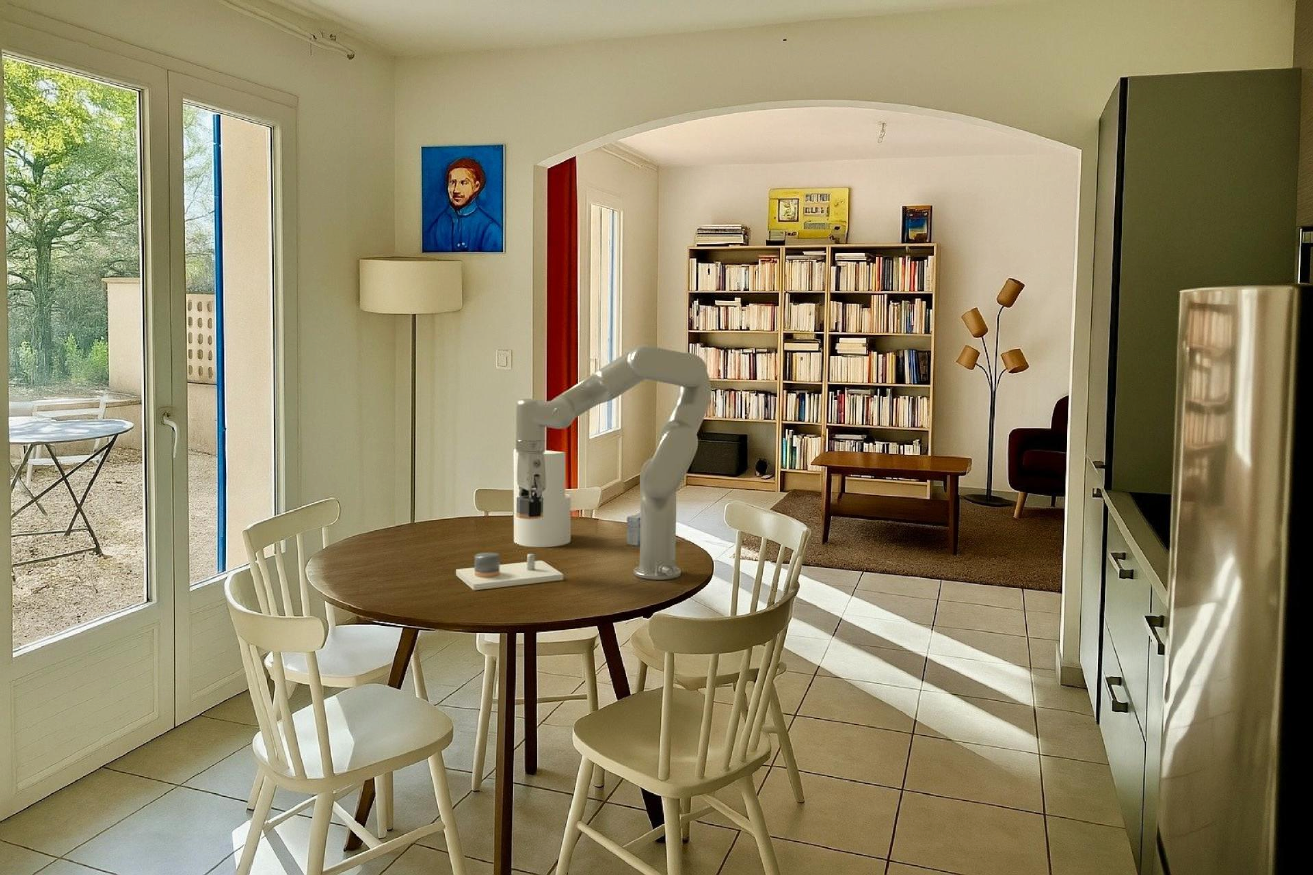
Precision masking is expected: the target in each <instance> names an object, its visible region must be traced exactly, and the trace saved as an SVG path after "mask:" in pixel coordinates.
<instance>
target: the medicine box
mask: <svg viewBox="0 0 1313 875" xmlns="http://www.w3.org/2000/svg"><path fill="white" fill-rule="evenodd" d="M640 514H641V513H639V514H638V513H637V514H634V515H629V516H627V517H626V544H627V545H629V546H636V547H640Z"/></svg>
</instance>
